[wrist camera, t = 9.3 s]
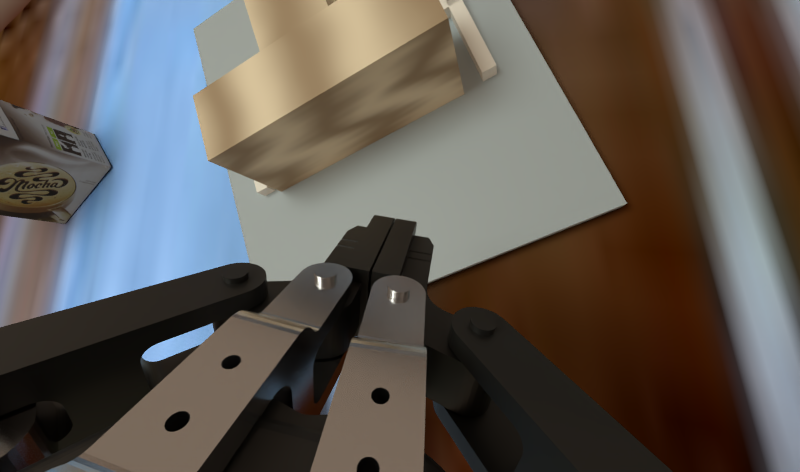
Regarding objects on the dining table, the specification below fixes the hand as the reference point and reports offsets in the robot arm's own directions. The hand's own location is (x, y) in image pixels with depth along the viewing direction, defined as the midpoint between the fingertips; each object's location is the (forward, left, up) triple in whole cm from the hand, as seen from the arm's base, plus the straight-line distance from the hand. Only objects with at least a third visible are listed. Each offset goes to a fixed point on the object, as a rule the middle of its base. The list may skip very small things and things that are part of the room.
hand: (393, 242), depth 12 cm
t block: (+2, -18, -11) cm, 21 cm away
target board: (+2, -15, -12) cm, 19 cm away
